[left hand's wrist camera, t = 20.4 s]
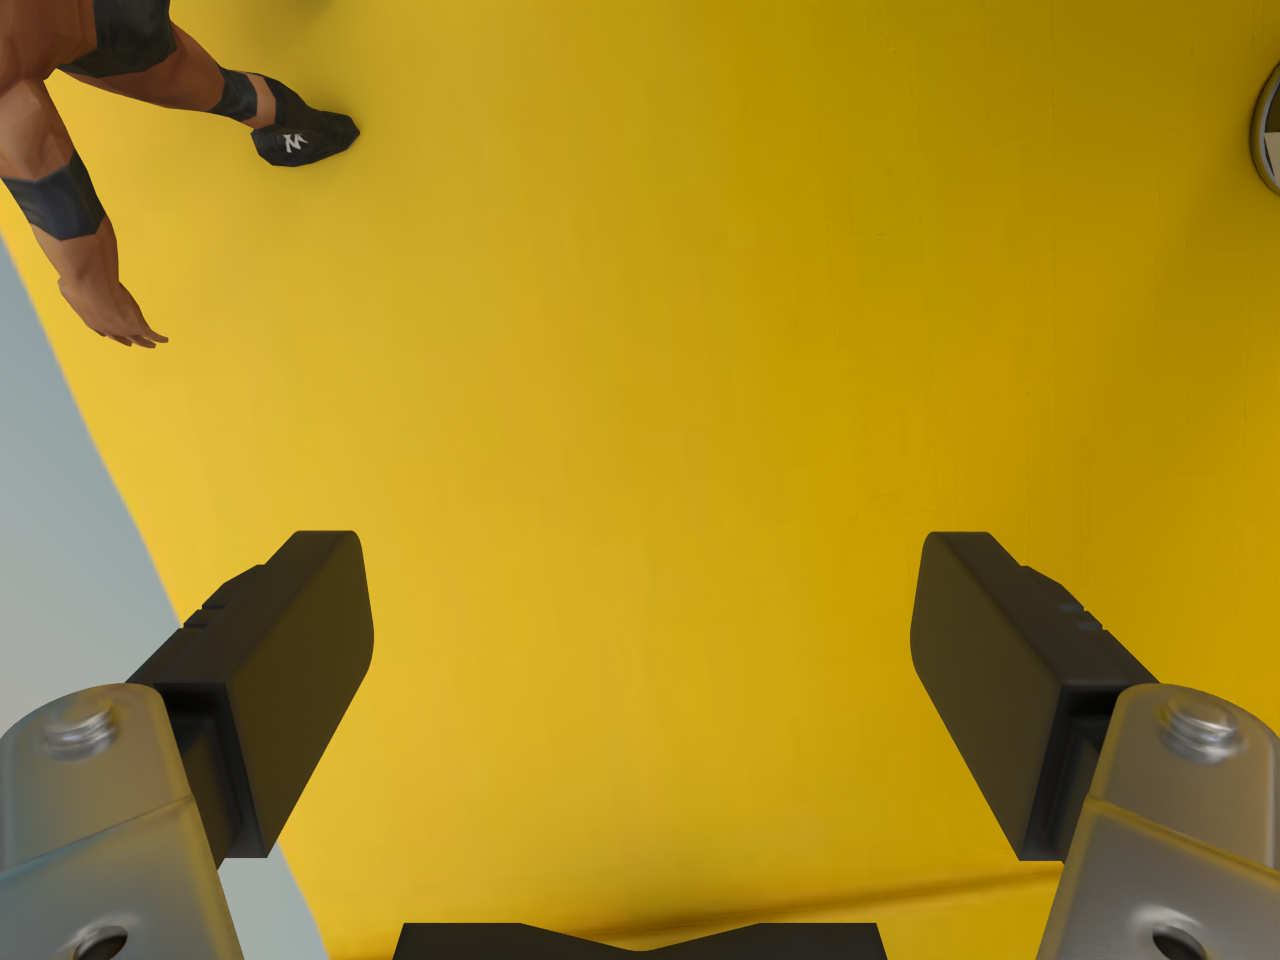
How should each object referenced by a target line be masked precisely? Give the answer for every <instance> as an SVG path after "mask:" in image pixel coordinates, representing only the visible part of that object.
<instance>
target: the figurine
mask: <svg viewBox="0 0 1280 960" xmlns="http://www.w3.org/2000/svg"><path fill="white" fill-rule="evenodd" d="M169 5H170V0H0V178H1V179H2V181H3V182H4V184H5V185H6V186H7V188H8V189H9V191H10V192H11V194H12V195H13V197H14V199H15V200H16V202H17V203H18V205H19V207H20V208H21V210H22V211H23V213H24V215H25V216H26V218H27V220H28V222H29V224H30V225H31V227H32V230H33V232H34V235H35V237H36V240H37V242H38V243H39V245H40V247H41V248H42V250H43V251H44V253H45V255H46V256H47V258H48V259H49V261H50V262H51V263H52V265H53V266H54V268H55V269H56V270H57V272H58V273H59V275H60V276H61V278H60V279H59V280H58V284H59V288H60V292H61V294H62V295H63V296H64V298H65V299H66V300H67V302H68V303H69V304H70V306H71V307H72V308H73V309H74V311H75V312H76V313H77V314H78V315H79V316H80V317H81V319H82V320H83V321H84V323H85V324H86V326H88V327H89V328H91V329H92V330H94V331H95V332H97V333H98V334H100V335H101V336H104V337H105V336H106V335H107V336H108V337H109V338H111V339H113V340H115V341H118V342H120V343H122V344H124V345H127V346H130V347H131V345H132V343H135V344H137V345H139V346H143V347H147V348H155V346H156V344H155V343H153V342H151V341H150V340H152V341H155V342H160V343H166V342H168V338H167V337H164V336H161V335H159V334H157V333H156V332H154V331H152V330H151V329H150V327H149V326H148V324H147V322H146V321H145V319H144V317H143V315H142V313H141V310H140V308H139V306H138V304H137V303H136V301H135V300H134V298H133V297H132V295H131V294H130V293H129V291H128V290H127V289H126V288H125V287H124V286H123V285H122V284H121V283H120V282H119V271H118V251H117V240H116V236H115V233H114V230H113V227H112V223H111V221H110V219H109V218H108V216H107V214H106V212H105V210H104V208H103V206H102V205H101V203H100V201H99V199H98V197H97V195H96V192H95V190H94V187H93V184H92V182H91V179H90V176H89V174H88V171H87V169H86V167H85V165H84V164H83V162H82V160H81V158H80V156H79V155H78V153H77V151H76V149H75V147H74V145H73V143H72V140H71V138H70V136H69V134H68V131H67V129H66V127H65V125H64V123H63V121H62V119H61V117H60V115H59V113H58V111H57V109H56V107H55V105H54V103H53V101H52V99H51V97H50V95H49V93H48V91H47V89H46V86H45V84H44V82H43V80H45V79H47V78H48V77H49V76H50V74H51V73H52V72H53V71H54V70H55V68H57V69H59V70H61V71H63V72H65V73H66V74H68V75H70V76H71V77H73V78H75V79H77V80H79V81H81V82H83V83H86V84H89V85H92V86H94V87H97V88H100V89H103V90H106V91H109V92H112V93H115V94H119V95H123V96H126V97H130V98H133V99H137V100H140V101H144V102H147V103H151V104H154V105H158V106H161V107H165V108H171V109H182V110H193V111H200V112H207V113H213V114H217V115H221V116H226V117H229V118H232V119H234V120H236V121H238V122H241V123H243V124H245V125H248V126H250V127H252V128H254V130H253V132H252V133H250V134H251V137H252V139H253V142H254V144H255V147H256V149H257V152H258V154H259V155H260V156H261V157H262V158H264V159H265V160H266V161H267V162H269V163H270V164H271V165H274V166H287V167H297V166H302V165H306V164H311V163H314V162H317V161H319V160H322V159H324V158H327V157H329V156H332V155H334V154H337V153H339V152H342V151H345V150H347V149H349V148H350V147H351V145H352V144H353V143H354V141H355V140H356V139H357V137H358V136H359V135H360V131H359V130H358V129H357V127H356V126H355V125H354V123H353V121H352V119H351V118H350V117H349V116H347V115H342V114H337V113H332V112H327V111H319V110H316V109H313V108H311V107H309V106H307V105H306V103H305V102H304V101H303V100H302V99H301V98H300V96H299V95H298V94H297V93H295V92H294V91H292V90H291V89H290V88H288V87H287V86H285V85H284V84H282V83H281V82H279V81H277V80H275V79H272V78H269V77H267V76H264V75H261V74H257V73H250V72H243V71H235V70H227V69H225V68H223V67H221V66H220V65H219V64H218V63H217V62H216V61H215V60H214V59H213V58H212V57H211V56H210V55H209V54H208V53H207V52H206V51H205V50H204V49H203V48H202V47H201V46H200V45H199V44H198V43H197V42H196V41H195V40H194V39H193V38H192V37H191V36H190V35H188V34H187V33H186V32H184V31H183V30H182V29H180V28H179V27H178V26H177V25H175V24H174V23H173V22H172V21H171V20H170V17H169ZM143 336H144V337H146V338H147V339H145V338H144V337H143ZM148 339H149V340H148Z"/></svg>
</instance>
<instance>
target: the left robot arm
mask: <svg viewBox="0 0 1280 960" xmlns="http://www.w3.org/2000/svg"><path fill="white" fill-rule="evenodd" d="M1251 141H1252V152H1253V157H1254V161H1255V165H1256V167H1257V169H1258V172H1259V174H1260V175H1261V177H1262V179H1263V180H1264V181H1265V183H1266V184H1267V185H1268V186H1269V187H1270V188H1271V189H1272V190H1273V191H1274V192H1276V193H1277V194H1278V195H1280V64H1279V66H1278V67H1277V68H1276V70H1275V71H1274V73H1273V74H1272V76H1271V77H1270V79H1269V81H1268V82H1267V84H1266V86H1265V88H1264V90H1263V92H1262V94H1261V97H1260V99H1259V102H1258V105H1257V108H1256V111H1255V115H1254V120H1253V126H1252V138H1251ZM373 645H374V628H373V620H372V613H371V607H370V600H369V593H368V587H367V580H366V573H365V566H364V560H363V553H362V547H361V543H360V540H359V538H358V536H357V534H356V533H355V532H354V531H297V532H295V533H294V534H293V535H292V536H291V537H290V538H289V539H288V540H287V541H286V542H285V543H284V544H283V546H282V547H281V548H280V549H279V550H278V551H277V552H276V553H275V554H274V555H273V556H272V557H271V558H270V559H269V560H268V561H267V562H266V564H265V565H256V566H254V567H252V568H250V569H249V570H247V571H245V572H243V573H241V574H240V575H238V576H236V577H234V578H232V579H231V580H229V581H227V582H225V583H224V584H223V585H222V586H221V587H220V588H219V589H218V590H217V591H216V592H215V593H214V594H213V595H212V596H211V597H210V598H209V599H208V600H207V601H206V602H205V603H204V604H203V605H202V609H201V610H197V611H196V612H195V613H194V614H193V615H192V616H191V617H190V618H189V619H188V620H187V621H186V622H185V623H184V627H183V628H179V629H178V630H177V631H176V632H175V633H174V634H173V635H172V636H171V637H170V638H169V639H168V640H167V641H166V642H165V643H164V644H163V645H162V646H161V647H160V648H159V649H158V650H157V651H156V652H155V653H154V654H153V655H152V656H151V657H150V658H149V659H148V660H147V661H146V662H145V663H144V664H143V665H142V666H141V667H140V668H139V669H138V670H137V671H136V672H135V673H134V674H133V675H132V676H131V677H130V678H129V679H128V680H127V681H126V682H125V683H117V684H108V685H102V686H97V687H92V688H88V689H84V690H81V691H77V692H75V693H71V694H69V695H66V696H63V697H61V698H58V699H56V700H54V701H51V702H49V703H47V704H45V705H44V706H42V707H40V708H38V709H36V710H34V711H33V712H31V713H29V714H28V715H26V716H25V717H23V718H22V719H21V720H19V721H18V722H17V723H15V724H14V725H13V726H12V727H11V728H10V729H9V730H8V731H7V732H6V733H5V734H4V735H3V736H2V738H1V739H0V960H244V957H243V954H242V950H241V947H240V944H239V941H238V937H237V934H236V931H235V928H234V924H233V921H232V918H231V915H230V911H229V908H228V905H227V901H226V898H225V895H224V892H223V888H222V885H221V882H220V879H219V875H218V872H217V870H218V869H219V867H220V865H221V864H222V862H223V860H224V859H225V858H267V857H268V855H269V853H270V851H271V849H272V848H273V846H274V844H275V842H276V840H277V838H278V836H279V835H280V833H281V831H282V829H283V827H284V825H285V823H286V822H287V820H288V818H289V816H290V814H291V812H292V810H293V809H294V807H295V805H296V803H297V801H298V799H299V797H300V796H301V794H302V792H303V790H304V788H305V786H306V784H307V783H308V781H309V779H310V777H311V775H312V773H313V771H314V770H315V768H316V766H317V764H318V762H319V760H320V759H321V757H322V755H323V753H324V751H325V749H326V747H327V746H328V744H329V742H330V740H331V738H332V736H333V734H334V733H335V731H336V729H337V727H338V725H339V723H340V721H341V720H342V718H343V716H344V714H345V712H346V710H347V708H348V707H349V705H350V703H351V701H352V699H353V697H354V695H355V694H356V692H357V690H358V688H359V686H360V684H361V683H362V681H363V679H364V677H365V675H366V673H367V671H368V669H369V666H370V663H371V659H372V654H373ZM910 646H911V655H912V660H913V664H914V667H915V670H916V672H917V674H918V676H919V678H920V680H921V682H922V684H923V685H924V687H925V689H926V691H927V693H928V695H929V696H930V698H931V700H932V702H933V704H934V706H935V707H936V709H937V711H938V713H939V715H940V717H941V718H942V720H943V722H944V724H945V726H946V728H947V729H948V731H949V733H950V735H951V737H952V739H953V740H954V742H955V744H956V746H957V748H958V749H959V751H960V753H961V755H962V757H963V759H964V760H965V762H966V764H967V766H968V768H969V770H970V771H971V773H972V775H973V777H974V779H975V781H976V782H977V784H978V786H979V788H980V790H981V792H982V793H983V795H984V797H985V799H986V801H987V803H988V804H989V806H990V808H991V810H992V812H993V814H994V815H995V817H996V819H997V821H998V823H999V825H1000V826H1001V828H1002V830H1003V832H1004V834H1005V836H1006V837H1007V839H1008V841H1009V843H1010V845H1011V847H1012V848H1013V850H1014V852H1015V854H1016V856H1017V858H1018V859H1019V861H1062V862H1063V864H1064V865H1065V866H1064V869H1063V872H1062V875H1061V879H1060V882H1059V885H1058V888H1057V892H1056V895H1055V898H1054V901H1053V905H1052V908H1051V911H1050V915H1049V918H1048V921H1047V924H1046V928H1045V931H1044V934H1043V937H1042V941H1041V944H1040V947H1039V950H1038V954H1037V957H1036V960H1280V739H1279V738H1278V736H1277V735H1276V734H1275V733H1274V732H1273V731H1272V730H1271V729H1270V728H1269V727H1268V726H1267V725H1266V724H1265V723H1263V722H1262V721H1261V720H1259V719H1258V718H1257V717H1255V716H1254V715H1252V714H1251V713H1249V712H1247V711H1246V710H1244V709H1242V708H1240V707H1238V706H1237V705H1235V704H1233V703H1231V702H1229V701H1226V700H1224V699H1222V698H1219V697H1217V696H1214V695H1211V694H1209V693H1206V692H1203V691H1199V690H1196V689H1192V688H1188V687H1183V686H1178V685H1172V684H1163V683H1160V682H1159V681H1158V680H1157V679H1156V678H1155V677H1154V676H1153V675H1152V674H1151V673H1150V672H1149V671H1148V670H1147V669H1146V668H1145V667H1144V666H1143V665H1142V664H1141V663H1140V662H1139V661H1138V660H1137V659H1136V658H1135V657H1134V656H1133V655H1132V654H1131V653H1130V652H1129V651H1128V650H1127V649H1126V648H1125V647H1124V646H1123V645H1122V644H1121V643H1120V642H1119V641H1118V640H1117V639H1116V638H1115V637H1114V636H1113V635H1112V634H1111V633H1110V632H1109V631H1108V630H1103V629H1102V624H1101V623H1100V622H1099V621H1098V620H1096V619H1095V618H1094V617H1093V616H1092V615H1091V614H1090V613H1089V612H1088V611H1084V607H1083V606H1082V605H1081V604H1080V603H1079V602H1078V601H1077V600H1076V599H1075V598H1074V597H1073V596H1072V595H1071V594H1070V593H1069V592H1068V591H1067V590H1066V589H1065V588H1064V587H1063V586H1062V585H1061V584H1059V583H1057V582H1056V581H1054V580H1052V579H1050V578H1048V577H1047V576H1045V575H1043V574H1041V573H1039V572H1038V571H1036V570H1034V569H1032V568H1030V567H1028V566H1020V565H1019V564H1018V563H1017V562H1016V560H1015V559H1014V558H1013V557H1012V556H1011V555H1010V554H1009V553H1008V552H1007V551H1006V550H1005V549H1004V548H1003V547H1002V546H1001V545H1000V544H999V543H998V542H997V541H996V539H995V538H994V537H993V536H992V535H991V534H989V533H988V532H931V533H930V534H929V535H928V536H927V537H926V540H925V542H924V545H923V550H922V556H921V562H920V569H919V576H918V582H917V589H916V596H915V602H914V609H913V615H912V622H911V630H910ZM393 960H887V956H886V953H885V950H884V947H883V943H882V940H881V937H880V934H879V931H878V927H877V924H876V923H758V924H754V925H750V926H746V927H742V928H738V929H734V930H730V931H726V932H722V933H718V934H714V935H710V936H706V937H702V938H698V939H694V940H690V941H686V942H682V943H678V944H674V945H670V946H666V947H662V948H658V949H655V950H649V951H631V950H625V949H622V948H618V947H614V946H610V945H606V944H602V943H598V942H594V941H590V940H586V939H582V938H578V937H574V936H570V935H566V934H562V933H558V932H554V931H550V930H546V929H542V928H538V927H534V926H530V925H526V924H522V923H404V924H403V927H402V931H401V934H400V937H399V940H398V943H397V947H396V950H395V953H394V956H393Z"/></svg>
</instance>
